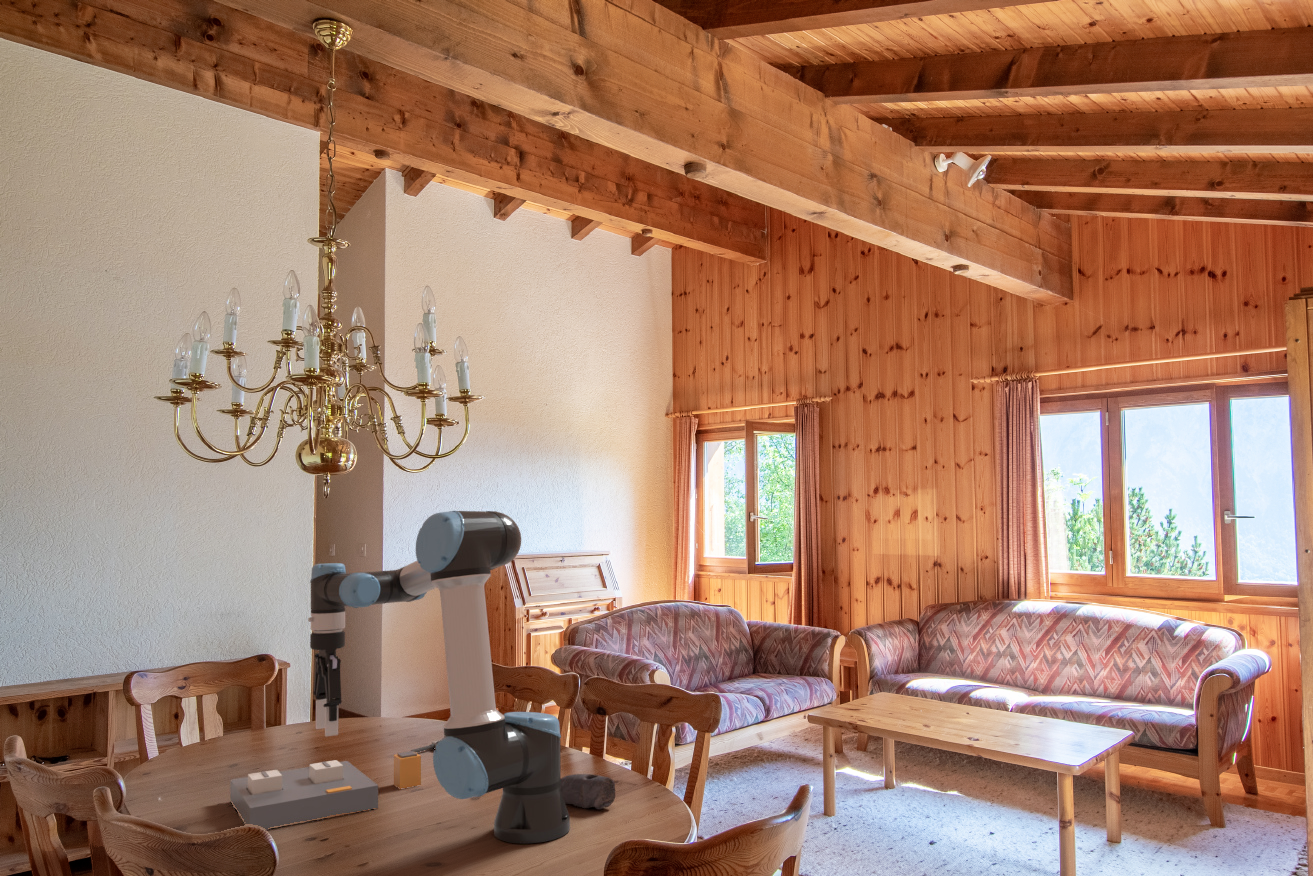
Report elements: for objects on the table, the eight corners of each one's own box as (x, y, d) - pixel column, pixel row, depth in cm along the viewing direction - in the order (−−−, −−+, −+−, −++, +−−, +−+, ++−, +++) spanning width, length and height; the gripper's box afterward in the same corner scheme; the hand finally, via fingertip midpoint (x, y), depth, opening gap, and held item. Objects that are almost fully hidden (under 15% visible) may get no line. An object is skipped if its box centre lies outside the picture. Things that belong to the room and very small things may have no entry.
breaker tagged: (343, 788, 205) (343, 764, 205) (315, 793, 201) (315, 769, 202) (336, 782, 210) (336, 759, 210) (309, 786, 206) (309, 763, 207)
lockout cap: (420, 786, 216) (420, 754, 216) (400, 789, 213) (400, 757, 214) (414, 781, 220) (414, 750, 221) (393, 785, 217) (393, 753, 218)
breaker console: (378, 808, 199) (378, 782, 199) (249, 833, 185) (250, 805, 185) (346, 782, 220) (347, 758, 221) (230, 802, 206) (230, 776, 207)
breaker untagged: (281, 799, 198) (282, 774, 198) (252, 804, 194) (252, 779, 195) (276, 792, 203) (276, 768, 203) (247, 797, 199) (247, 773, 200)
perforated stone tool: (549, 804, 199) (548, 772, 200) (564, 798, 204) (563, 766, 204) (603, 815, 191) (602, 781, 192) (618, 808, 195) (617, 775, 196)
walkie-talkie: (465, 741, 261) (407, 756, 245) (465, 725, 261) (407, 740, 245) (486, 745, 255) (428, 761, 240) (486, 729, 256) (428, 744, 240)
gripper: (300, 628, 215) (299, 726, 213) (321, 636, 198) (320, 743, 196) (333, 625, 220) (332, 721, 217) (356, 633, 202) (355, 738, 200)
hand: (326, 731), depth 207 cm, fingers open, 8 cm apart
